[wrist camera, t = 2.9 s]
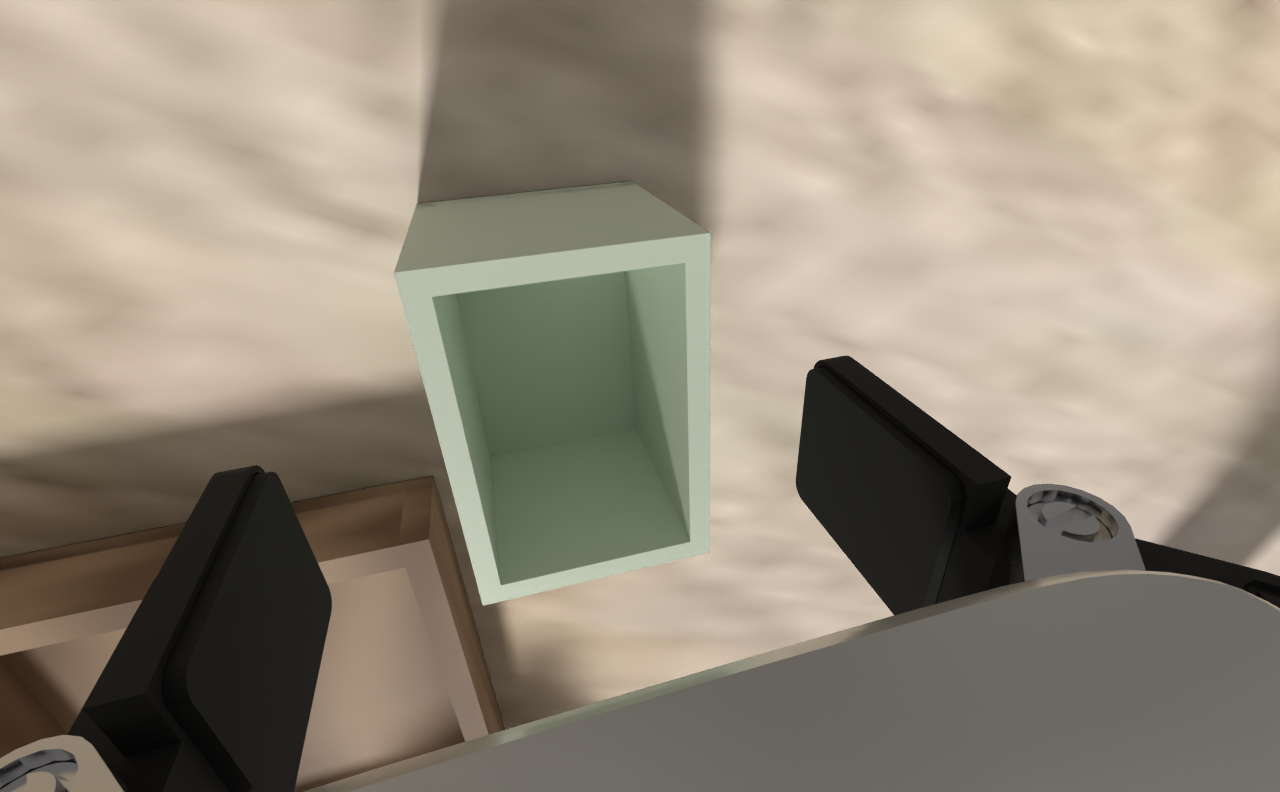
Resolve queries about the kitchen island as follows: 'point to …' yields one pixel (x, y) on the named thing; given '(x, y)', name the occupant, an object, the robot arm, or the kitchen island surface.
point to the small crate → (565, 378)
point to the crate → (354, 647)
